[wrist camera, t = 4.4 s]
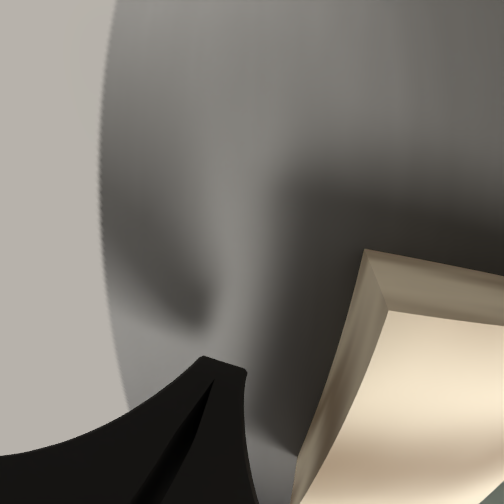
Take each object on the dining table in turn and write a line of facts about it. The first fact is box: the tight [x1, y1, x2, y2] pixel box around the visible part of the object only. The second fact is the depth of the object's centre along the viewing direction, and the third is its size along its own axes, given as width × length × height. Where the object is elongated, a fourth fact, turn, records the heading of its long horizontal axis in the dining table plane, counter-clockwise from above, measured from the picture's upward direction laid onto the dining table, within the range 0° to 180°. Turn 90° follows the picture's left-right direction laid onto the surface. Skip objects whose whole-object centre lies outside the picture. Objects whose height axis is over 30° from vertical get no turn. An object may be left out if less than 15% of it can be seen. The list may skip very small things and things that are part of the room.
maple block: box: [290, 249, 504, 504], centre depth 8 cm, size 10×8×4 cm
